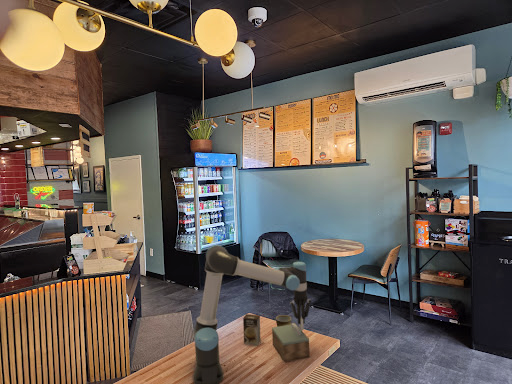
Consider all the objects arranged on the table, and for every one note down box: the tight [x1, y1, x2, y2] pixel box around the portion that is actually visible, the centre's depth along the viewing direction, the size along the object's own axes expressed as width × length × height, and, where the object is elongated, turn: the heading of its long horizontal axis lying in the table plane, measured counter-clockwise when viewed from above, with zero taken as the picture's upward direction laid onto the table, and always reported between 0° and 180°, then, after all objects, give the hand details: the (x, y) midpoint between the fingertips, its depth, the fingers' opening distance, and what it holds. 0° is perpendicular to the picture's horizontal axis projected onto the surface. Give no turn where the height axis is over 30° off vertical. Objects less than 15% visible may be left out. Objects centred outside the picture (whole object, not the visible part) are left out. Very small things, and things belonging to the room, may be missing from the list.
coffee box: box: [242, 314, 261, 346], centre depth 200 cm, size 9×6×16 cm
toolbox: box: [271, 329, 310, 363], centre depth 189 cm, size 15×20×9 cm
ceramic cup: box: [275, 314, 292, 327], centre depth 212 cm, size 13×10×10 cm
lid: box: [271, 322, 310, 345], centre depth 189 cm, size 15×20×4 cm
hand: (301, 329), depth 191 cm, fingers closed
